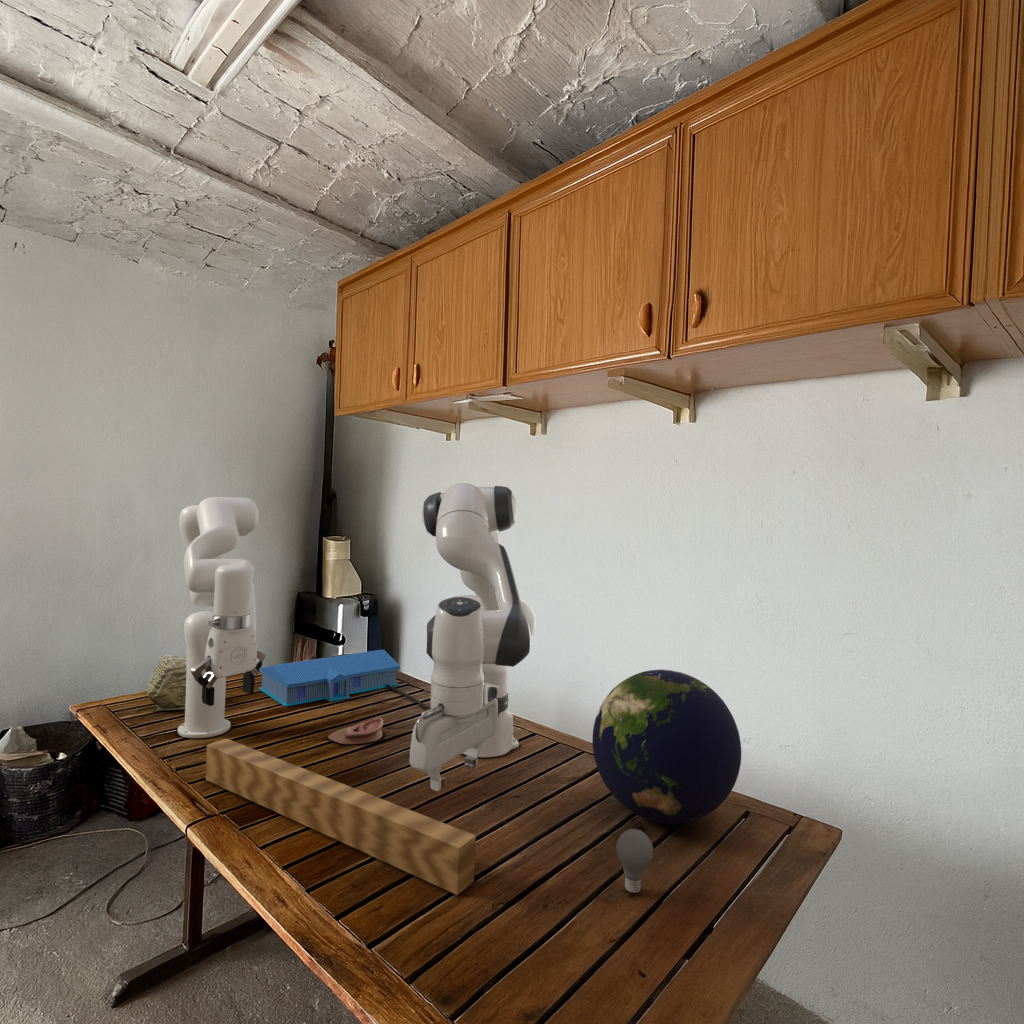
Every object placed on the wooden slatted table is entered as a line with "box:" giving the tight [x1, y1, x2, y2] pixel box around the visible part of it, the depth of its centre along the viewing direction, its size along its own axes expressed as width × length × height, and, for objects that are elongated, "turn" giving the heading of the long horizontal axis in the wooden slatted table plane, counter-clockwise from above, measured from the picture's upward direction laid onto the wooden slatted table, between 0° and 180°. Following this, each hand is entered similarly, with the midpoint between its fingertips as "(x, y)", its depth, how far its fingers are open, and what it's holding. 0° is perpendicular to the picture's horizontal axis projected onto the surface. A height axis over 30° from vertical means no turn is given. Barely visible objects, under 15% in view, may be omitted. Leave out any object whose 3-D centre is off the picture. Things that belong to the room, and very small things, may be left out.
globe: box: [592, 668, 742, 825], centre depth 132 cm, size 30×30×30 cm
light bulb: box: [615, 828, 654, 894], centre depth 106 cm, size 6×6×10 cm
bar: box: [205, 738, 477, 896], centre depth 123 cm, size 69×5×8 cm, turn 58°
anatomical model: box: [327, 717, 384, 745], centre depth 167 cm, size 13×4×12 cm
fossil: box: [147, 654, 187, 712], centre depth 185 cm, size 9×18×15 cm, turn 132°
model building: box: [258, 649, 401, 707], centre depth 208 cm, size 39×24×10 cm, turn 132°
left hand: (228, 698), depth 139 cm, fingers open, 9 cm apart
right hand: (454, 777), depth 106 cm, fingers open, 8 cm apart
